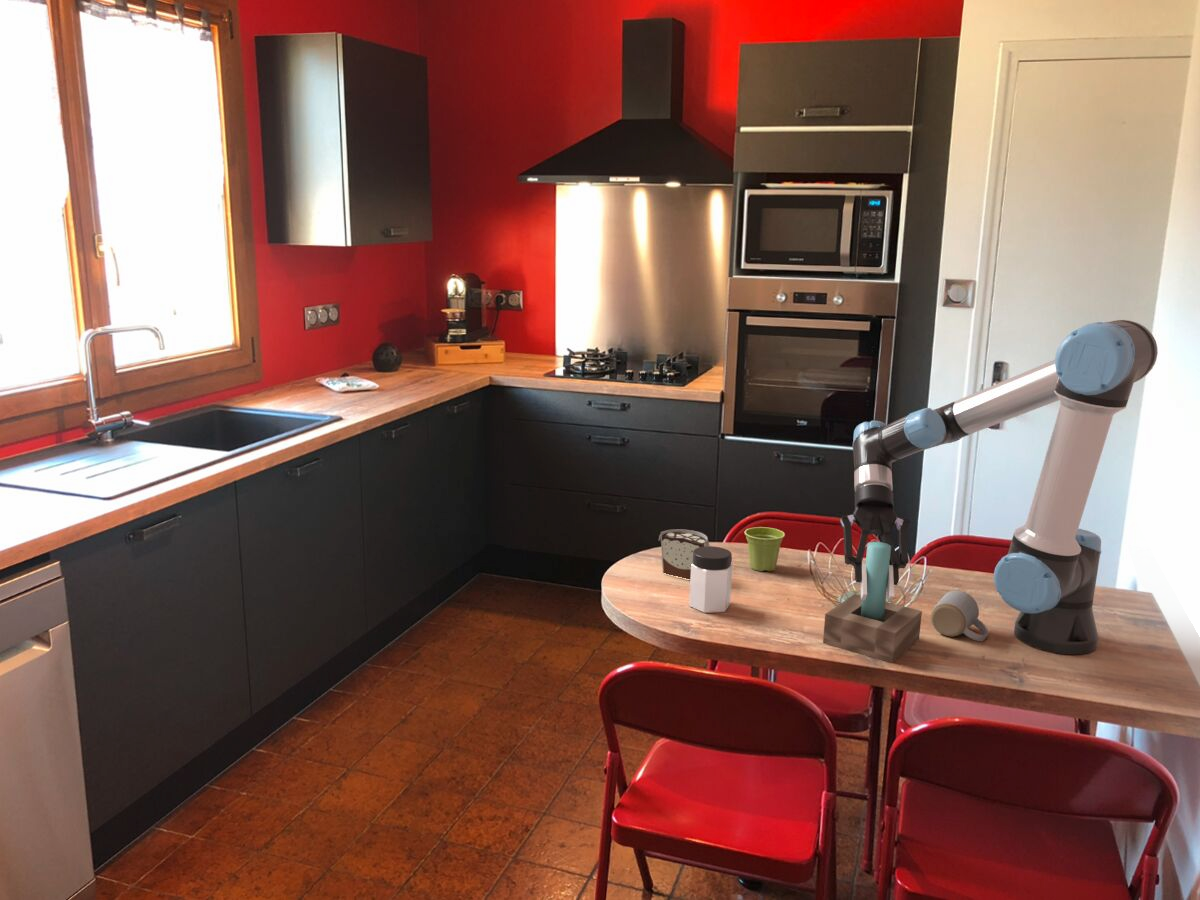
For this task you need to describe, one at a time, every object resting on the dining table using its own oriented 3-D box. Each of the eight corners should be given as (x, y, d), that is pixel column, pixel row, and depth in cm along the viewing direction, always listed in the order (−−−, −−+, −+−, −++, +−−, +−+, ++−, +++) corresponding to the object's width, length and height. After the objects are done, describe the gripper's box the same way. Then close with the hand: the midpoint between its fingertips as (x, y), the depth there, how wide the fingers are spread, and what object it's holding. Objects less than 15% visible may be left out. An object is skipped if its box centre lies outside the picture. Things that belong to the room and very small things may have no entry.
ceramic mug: (926, 633, 199) (931, 597, 197) (939, 620, 205) (943, 585, 204) (980, 647, 193) (986, 611, 191) (992, 634, 199) (997, 598, 198)
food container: (716, 576, 228) (719, 535, 226) (705, 584, 223) (707, 541, 221) (669, 565, 234) (671, 525, 232) (657, 573, 229) (658, 531, 227)
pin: (887, 617, 194) (894, 545, 190) (878, 624, 190) (885, 550, 187) (865, 612, 196) (872, 540, 193) (856, 618, 193) (863, 545, 190)
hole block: (919, 639, 196) (921, 611, 194) (892, 662, 185) (895, 633, 183) (852, 621, 204) (854, 593, 202) (822, 642, 193) (825, 614, 192)
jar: (738, 607, 210) (741, 554, 207) (711, 616, 204) (714, 561, 202) (708, 595, 216) (710, 543, 214) (681, 603, 211) (683, 550, 209)
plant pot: (734, 567, 234) (736, 532, 232) (755, 558, 241) (757, 524, 239) (769, 577, 228) (771, 541, 226) (789, 567, 235) (792, 532, 233)
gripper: (913, 503, 203) (920, 609, 191) (827, 498, 205) (828, 602, 193) (921, 485, 196) (928, 593, 184) (832, 480, 198) (833, 586, 186)
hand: (877, 598), depth 188 cm, fingers closed on pin, 4 cm apart
